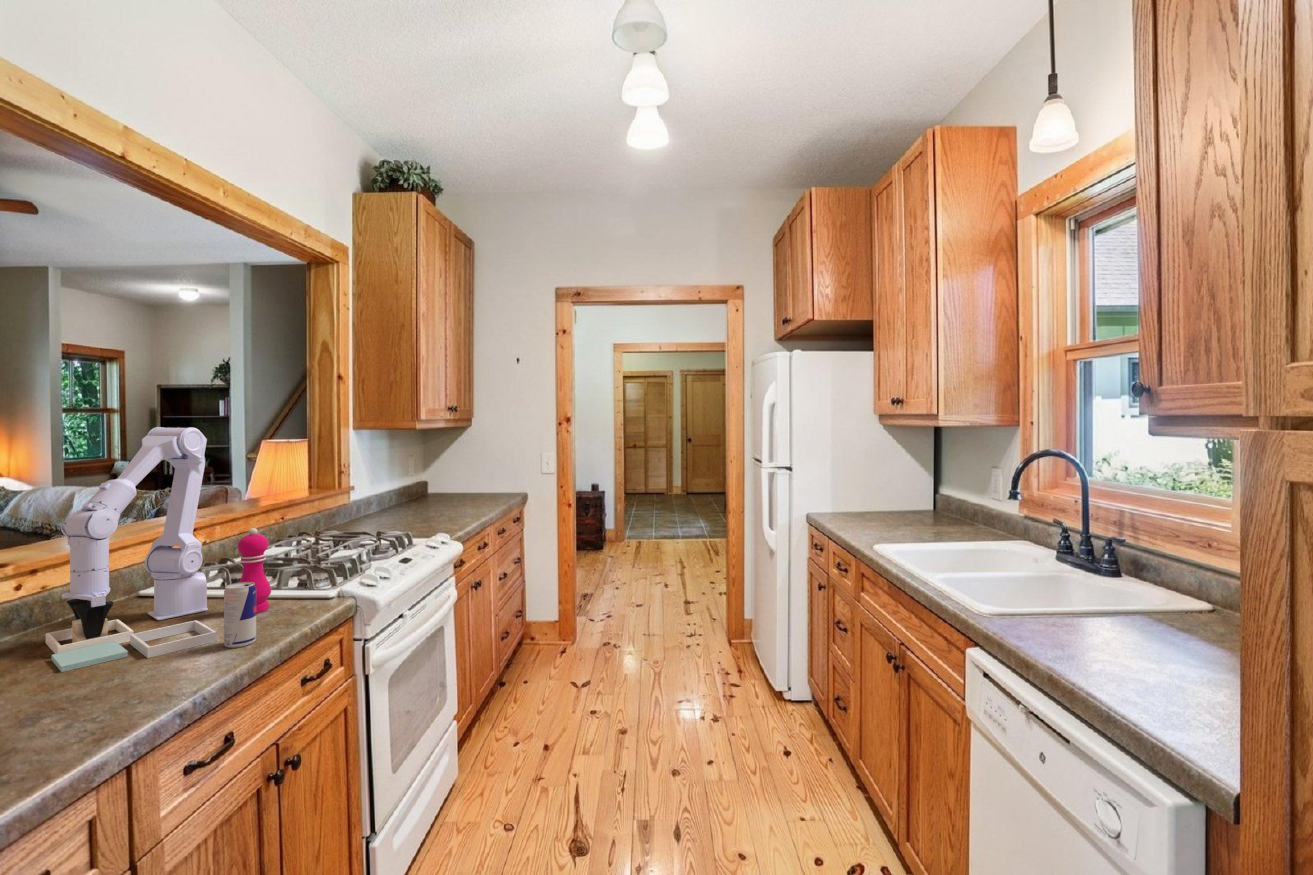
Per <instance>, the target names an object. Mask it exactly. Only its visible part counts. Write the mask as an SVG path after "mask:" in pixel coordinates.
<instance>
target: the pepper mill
mask: <svg viewBox="0 0 1313 875" xmlns="http://www.w3.org/2000/svg"><path fill="white" fill-rule="evenodd" d="M268 541H269V540H268V539H267V538H266V536H265V535H262V534H259V532H258V529H257V528H255V527H254V528H253V527H252V528H250V529H249V530H248V535H245V536H243V537H242V538H240V540H239V541H238V544H237V551H239V553H240V554H241V555H240V561H239V562H240V563H242V575H241V577H240V580H239V581H238V583H241V582H253V583H255V586H256V614H259V613H260V614H261V613H263V612H266V611H268V610H269V606H270V605H269V604H270V602H269V600H267V599H268V598H270V595H271V594H272V590H271V589H272V588H271V584H270V582H269V580H268V578H267V576H266V575H265V570H264V561H265V560H266V559H267V558H266V553H265V552H266V551H267V549H268V547H269V542H268Z"/></svg>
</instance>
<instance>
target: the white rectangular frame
mask: <svg viewBox="0 0 1313 875" xmlns="http://www.w3.org/2000/svg"><path fill="white" fill-rule="evenodd" d="M192 631H193V632H194V631H195V632H196V633H198V635H194V636H190V637H186V638H181V639H178V640H172V641H168V642H164V643H160V644H155V645H151V646H150V645H149V644H148V643H146V642H149V641H153V640H157V639H158V640H159V639H162V638H167V637H171V636H177V635H181V634H184V633H189V632H192ZM217 636H218V631H216V630H214V629H213V628H211V627H209V626H207V625H206V624H204V623H202V622H201V621H199V620H197V619H195V620H191V621H186V622H182V623H177V624H172V625H168V626H163V627H158V628H153V629H149V630H143V631H140V632H136V633H134V634H130V641H129V645H130V646H132V647H133V648H134V649H136V651H138V652H139V653H140V654H142V655H143V656H144V657H145V658H146V659H150V658H154V657H155V658H156V657H159V656H162V655H167V654H172V653H175V652H178V651H183V650H187V649H191V648H192V649H193V648H195V647H200V646H205V645H209V644H211V643H216V642H217V640H218V639H217V638H218V637H217Z"/></svg>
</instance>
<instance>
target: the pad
mask: <svg viewBox="0 0 1313 875" xmlns="http://www.w3.org/2000/svg"><path fill="white" fill-rule="evenodd" d="M127 657H129V650H127V649H126V648H124V647H123V646H122V645H121V643H120V644H118V643H117V642H116V641H113V642H109V643H104V644H99V645H95V646H90V647H86V648H81V649H76V650H72V651H67V652H62V653H58V654H55V653H53V654H51V662H53V664H54V665H55V667H56V668H57V669H58V670H59V671H60V672H61V673H65V672H67V671H72V670H77V669H81V668H82V669H83V668H85V667H90V666H94V665H98V664H102V663H103V664H104V663H107V662H111V661H115V660H119V659H123V658H127Z"/></svg>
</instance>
